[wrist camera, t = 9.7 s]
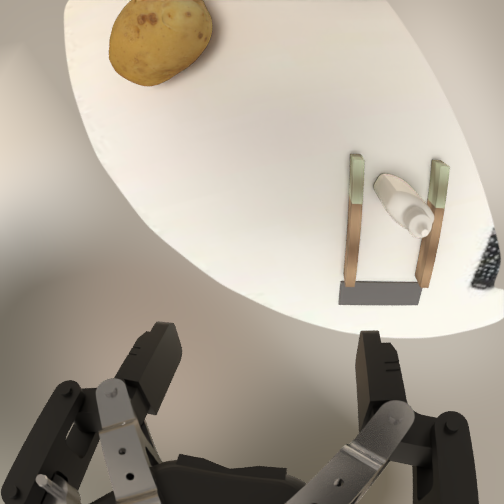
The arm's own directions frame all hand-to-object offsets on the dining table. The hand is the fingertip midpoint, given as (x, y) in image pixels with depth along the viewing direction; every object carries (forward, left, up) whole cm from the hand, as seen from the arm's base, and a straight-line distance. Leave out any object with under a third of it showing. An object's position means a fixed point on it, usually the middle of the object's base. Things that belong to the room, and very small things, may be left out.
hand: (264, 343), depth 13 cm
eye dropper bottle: (+2, +12, -28) cm, 30 cm away
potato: (-17, -13, -28) cm, 35 cm away
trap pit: (+17, +12, -27) cm, 34 cm away
